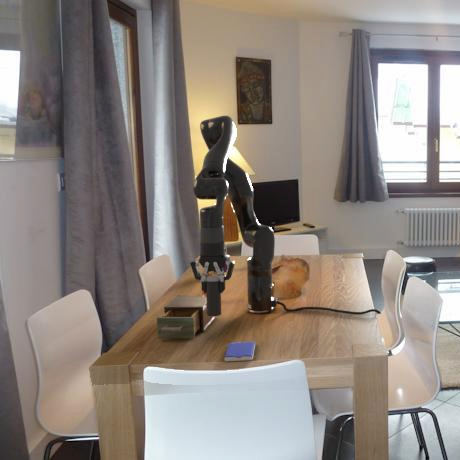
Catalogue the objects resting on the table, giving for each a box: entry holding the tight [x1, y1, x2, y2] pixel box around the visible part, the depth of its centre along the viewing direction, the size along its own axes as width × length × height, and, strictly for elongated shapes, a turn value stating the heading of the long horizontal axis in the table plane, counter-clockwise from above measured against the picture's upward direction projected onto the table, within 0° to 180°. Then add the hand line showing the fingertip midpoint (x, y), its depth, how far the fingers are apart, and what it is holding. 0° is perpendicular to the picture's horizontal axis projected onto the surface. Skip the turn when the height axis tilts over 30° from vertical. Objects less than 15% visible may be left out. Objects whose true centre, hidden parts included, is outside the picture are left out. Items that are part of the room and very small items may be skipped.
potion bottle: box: [218, 247, 231, 273], centre depth 302 cm, size 9×9×12 cm
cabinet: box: [163, 294, 216, 333], centre depth 220 cm, size 15×13×9 cm
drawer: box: [156, 310, 201, 339], centre depth 208 cm, size 18×12×7 cm, turn 4°
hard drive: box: [224, 341, 256, 362], centre depth 195 cm, size 2×8×12 cm
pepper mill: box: [206, 274, 222, 317], centre depth 202 cm, size 4×4×12 cm
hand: (213, 292), depth 202 cm, fingers closed on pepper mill, 4 cm apart
